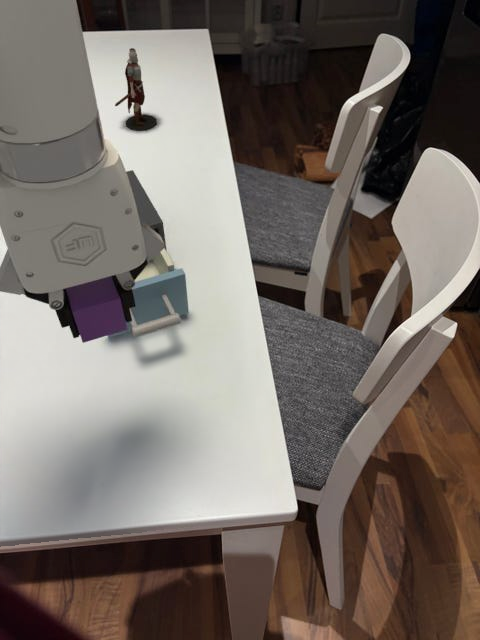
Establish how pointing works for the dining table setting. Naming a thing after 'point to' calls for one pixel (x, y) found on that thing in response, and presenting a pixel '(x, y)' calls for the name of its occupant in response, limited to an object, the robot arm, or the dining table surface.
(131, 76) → the figurine
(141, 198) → the grey drawer cabinet
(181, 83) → the dining table surface
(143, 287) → the drawer
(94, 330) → the cube
